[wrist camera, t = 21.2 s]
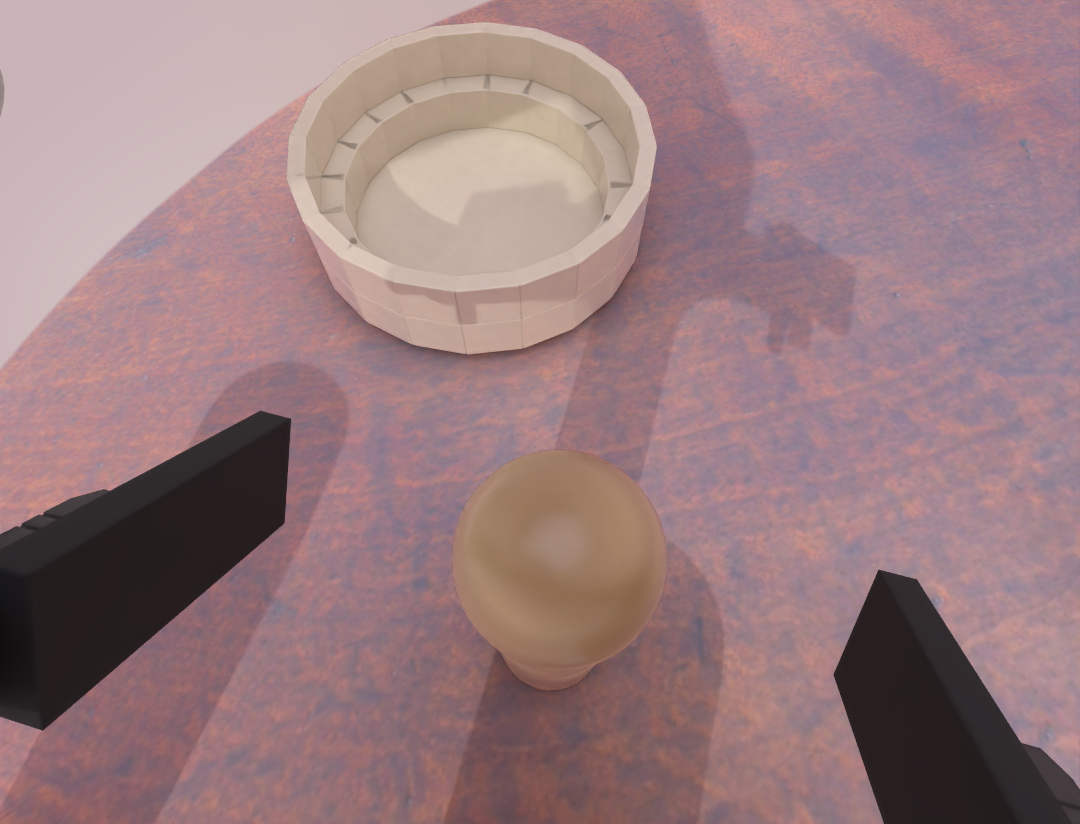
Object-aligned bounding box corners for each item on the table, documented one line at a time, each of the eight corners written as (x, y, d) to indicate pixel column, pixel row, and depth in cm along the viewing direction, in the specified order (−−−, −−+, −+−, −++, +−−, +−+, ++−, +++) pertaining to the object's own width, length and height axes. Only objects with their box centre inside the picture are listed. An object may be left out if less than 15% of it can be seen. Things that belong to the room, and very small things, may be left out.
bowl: (319, 376, 31) (277, 309, 26) (326, 126, 38) (294, 36, 33) (667, 341, 32) (690, 269, 27) (610, 102, 39) (620, 11, 34)
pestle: (497, 706, 25) (444, 674, 11) (486, 583, 27) (431, 427, 13) (618, 691, 25) (713, 640, 11) (598, 570, 27) (660, 402, 13)
